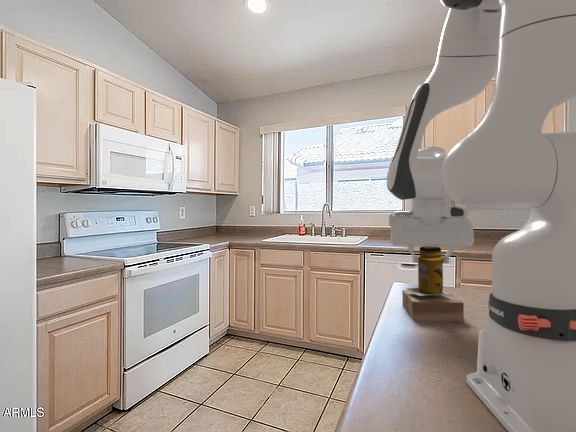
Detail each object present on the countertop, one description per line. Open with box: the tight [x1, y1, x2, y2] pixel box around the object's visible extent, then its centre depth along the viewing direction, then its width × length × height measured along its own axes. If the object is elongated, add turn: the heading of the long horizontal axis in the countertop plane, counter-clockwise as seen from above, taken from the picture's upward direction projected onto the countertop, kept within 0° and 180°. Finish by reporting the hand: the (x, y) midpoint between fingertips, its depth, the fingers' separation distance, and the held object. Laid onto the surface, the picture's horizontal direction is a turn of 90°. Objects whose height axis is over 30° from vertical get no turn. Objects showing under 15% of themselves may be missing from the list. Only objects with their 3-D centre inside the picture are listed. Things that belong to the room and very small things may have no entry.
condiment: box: [405, 246, 450, 296], centre depth 87 cm, size 7×8×12 cm
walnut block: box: [401, 289, 465, 323], centre depth 87 cm, size 12×12×5 cm
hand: (430, 262), depth 87 cm, fingers closed on condiment, 6 cm apart
